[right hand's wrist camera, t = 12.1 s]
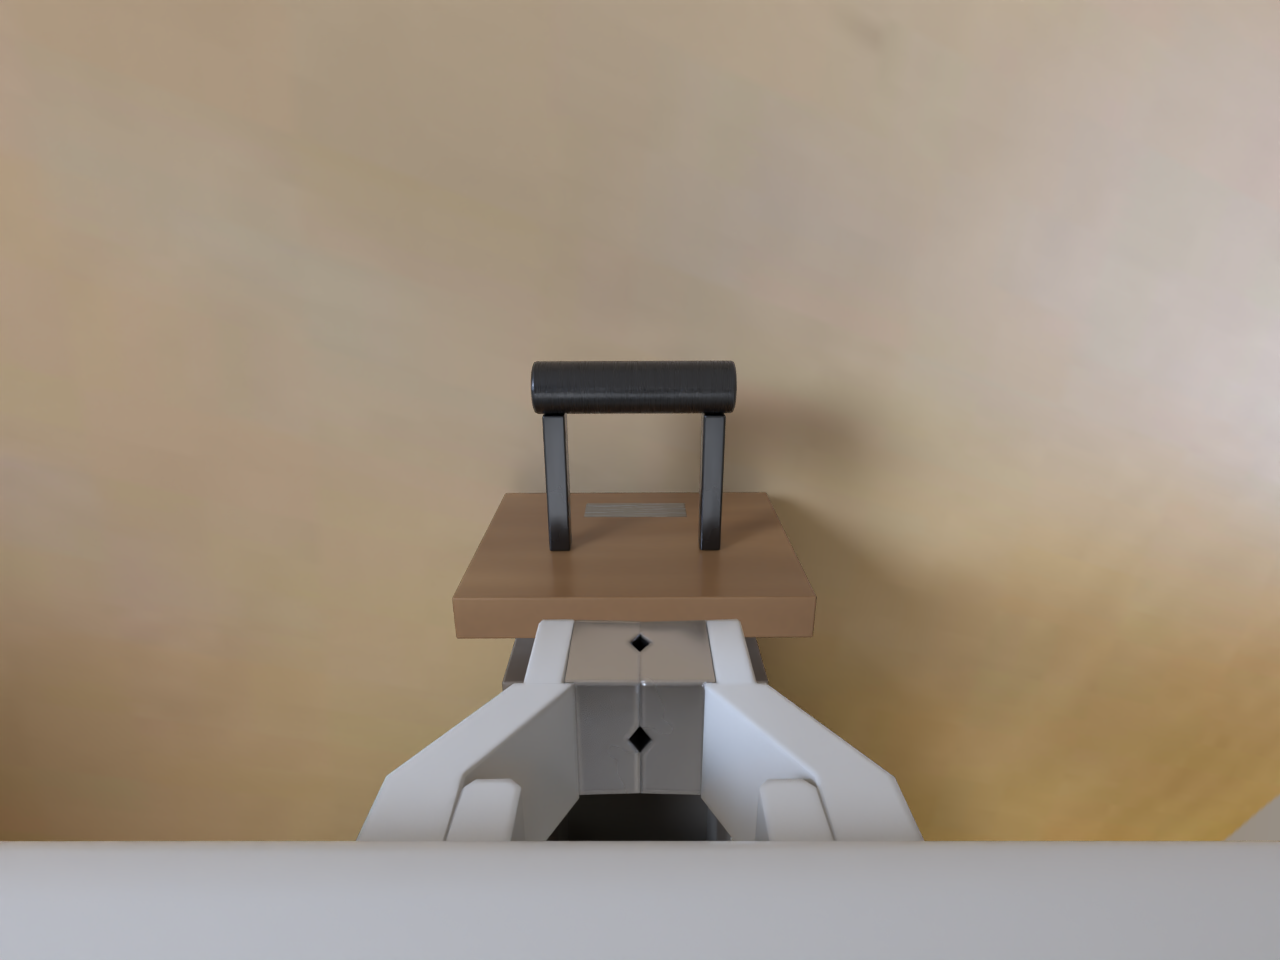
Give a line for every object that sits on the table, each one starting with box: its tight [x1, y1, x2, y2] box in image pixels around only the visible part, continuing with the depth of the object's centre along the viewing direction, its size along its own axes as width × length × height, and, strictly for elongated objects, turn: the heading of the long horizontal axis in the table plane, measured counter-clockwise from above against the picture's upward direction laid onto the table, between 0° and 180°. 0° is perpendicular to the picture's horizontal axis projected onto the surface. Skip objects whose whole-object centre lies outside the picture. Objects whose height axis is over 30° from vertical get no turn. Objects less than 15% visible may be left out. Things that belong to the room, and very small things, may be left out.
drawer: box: [452, 361, 817, 841], centre depth 23 cm, size 23×9×7 cm, turn 0°
